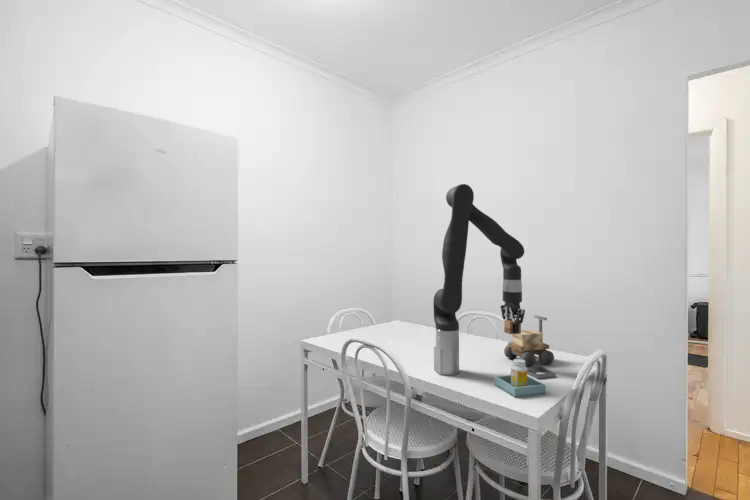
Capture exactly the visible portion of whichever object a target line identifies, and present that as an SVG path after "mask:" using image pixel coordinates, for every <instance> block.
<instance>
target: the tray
mask: <svg viewBox="0 0 750 500" xmlns="http://www.w3.org/2000/svg"><path fill="white" fill-rule="evenodd" d="M494 386H496V387H497V388H499V389H500V390H502V391H504V392H505V393H507V394H508V395H510V396H512V397H513V398H521V397H531V396H538V395H546V391H547V389H546V388H547V386H546V384H545V383H543V382H540V381H538V379H536V378H534V377H532V376H530V375H527V386H523V387H514V386H512V385H511V374H508V375H506V374H505V375H498V376H497V375H496V376H494Z"/></svg>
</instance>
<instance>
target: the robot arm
mask: <svg viewBox="0 0 750 500" xmlns="http://www.w3.org/2000/svg"><path fill="white" fill-rule="evenodd" d="M474 197H475V195H474V190H473V188H472V187H471V186H470V185H468V184H466V183H462V184H458V185H456V186H454V187H451V188H450V189H449V190H448V191H447V193H446V195H445V200H446V203H447V205H448V206H449V207H451V217H450V221H449V224H448V227H447V230H446V232H445V235H444V238H443V245H442V252H441V261H442V265H443V271H444V280H443V281H444V282H443V287H442V288H439V289H438V290H437V291H436V292H435V294H434V297H433V320H434V321H433V322H434V324H435V346H434V347H433V370H434V371H435V372H436V373H438V375H442V376H443V375H444V376H454V375H458V374H460V323H459V320H458V319H457V316H456V313H457V312H458V311H459V310H460V309H461V307H462V304H463V303H462V302H463V277H464V269H465V261H466V253H467V245H468V235H469V225H470V224H469V223H471V224H472V225H473V226H475V228H477V229H478V230H479V231H480V232H481V233H482V234H483V236H485V237H486V238H487V239H488V240H489V241H490V242H491V244H493V245H496V246H498V247H499V248H500V252H499V253H500V262H501V265H502V269H503V271H502V272H503V273H502V275H503V277H502V278H503V279H502V301H503V302H504V304H502V305H500V311H501V316H502V319H503V320H513V333H518V332H519V324H520V323H521V324H523V323H524V318H525V313H526V310H525V309H522V308H521V303H522V302H523V282H522V267H521V266H520V265H519V264H518V263H517V260H519V259H521V258H522V257H523V256H524V255H525V248H524V246H523V244H522V243H521V242H520V241H519V240H518V239H517V238H515V237H514V236H512V235H511V234H509V233H508V232H506V230H505V229H504V228H503V227H502V226H501V225H500V224H499V223H498V222H497V221H496V220H495V219H494V218H492V217H491V216H488V214H486V213H484V212H483V211H482V210H480V209H479V208H478V207H476V205H474V199H475V198H474ZM515 320H516V321H515Z"/></svg>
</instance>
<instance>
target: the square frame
mask: <svg viewBox="0 0 750 500" xmlns="http://www.w3.org/2000/svg"><path fill="white" fill-rule="evenodd" d="M539 372H542V373H539ZM527 376H529V377H531V378H533V379H535V380H542V379H551V378H557V374H556V372H555V371H552V370H549V369H547V368H544V367H543V366H537V367H536V366H535V367H527Z"/></svg>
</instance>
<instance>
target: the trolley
mask: <svg viewBox="0 0 750 500" xmlns="http://www.w3.org/2000/svg"><path fill="white" fill-rule="evenodd" d="M533 318H535V319H538V331H536V330H533V329H526V330H525V329H524V330H521V334H511V335H512V341H509V342H507V345H505V348H504V351H503V353H504V356H505V357H506V358H508V359H510V360H513V359H517V357H518V358H519V359H523V360H525V365H524V366H526V367H527V368H533V366H534V365H535V364H536V361H537V357H536V356H538V360H539V362H540V363H541V364H543V365H544V366H550V365H552V363H554V360H555V355H554V352H552V351H550V350H549V349H550V344H547V343H544V342H543V339H544V338H543V335H544V334H543V321H547V320H548V318H547V317H544V316H540V315H536V314H535V315H534V316H533Z"/></svg>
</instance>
